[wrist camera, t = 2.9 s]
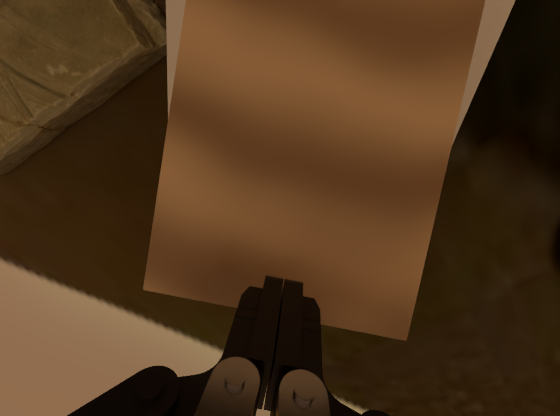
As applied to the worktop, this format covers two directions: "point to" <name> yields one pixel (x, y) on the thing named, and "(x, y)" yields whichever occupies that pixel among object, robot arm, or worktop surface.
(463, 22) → the honey oak plank
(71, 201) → the worktop surface
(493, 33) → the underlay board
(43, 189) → the worktop surface
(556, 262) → the worktop surface
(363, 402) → the worktop surface
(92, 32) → the decorative tile
